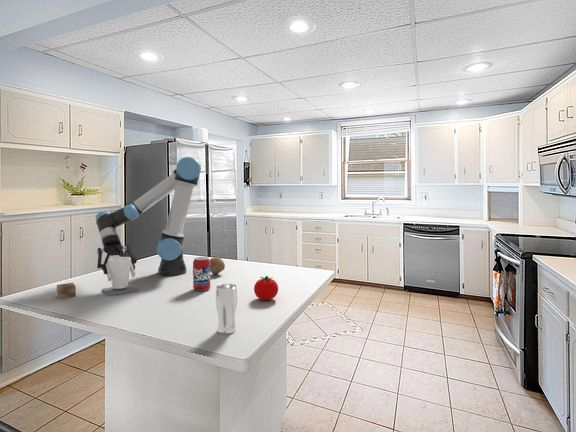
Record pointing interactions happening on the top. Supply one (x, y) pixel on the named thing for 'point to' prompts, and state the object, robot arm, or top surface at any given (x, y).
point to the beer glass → (226, 307)
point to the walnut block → (66, 290)
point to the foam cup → (119, 271)
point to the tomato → (266, 288)
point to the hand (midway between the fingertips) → (122, 277)
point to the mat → (119, 290)
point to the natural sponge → (216, 265)
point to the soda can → (201, 274)
